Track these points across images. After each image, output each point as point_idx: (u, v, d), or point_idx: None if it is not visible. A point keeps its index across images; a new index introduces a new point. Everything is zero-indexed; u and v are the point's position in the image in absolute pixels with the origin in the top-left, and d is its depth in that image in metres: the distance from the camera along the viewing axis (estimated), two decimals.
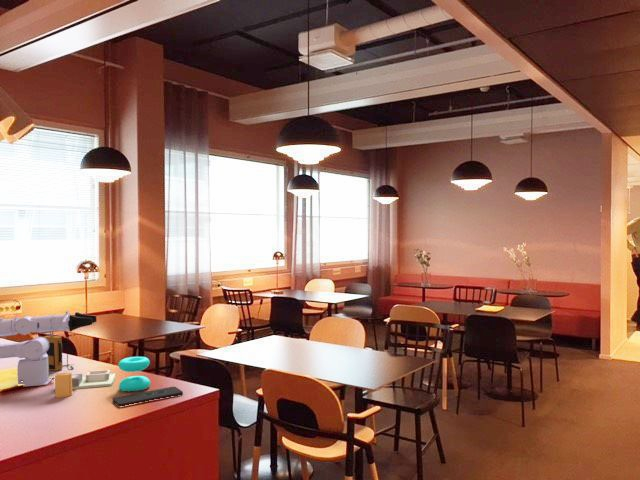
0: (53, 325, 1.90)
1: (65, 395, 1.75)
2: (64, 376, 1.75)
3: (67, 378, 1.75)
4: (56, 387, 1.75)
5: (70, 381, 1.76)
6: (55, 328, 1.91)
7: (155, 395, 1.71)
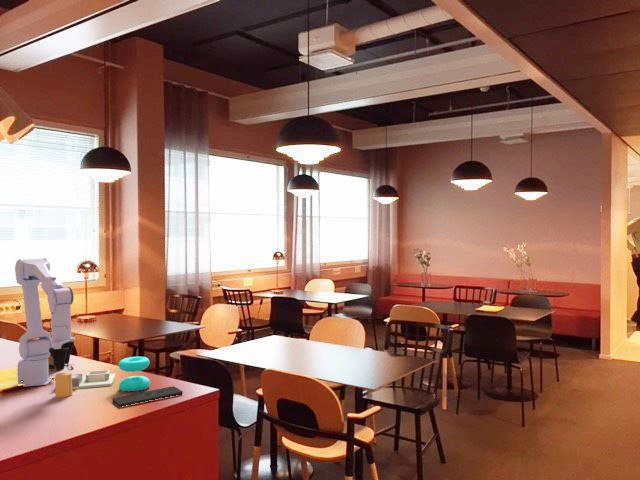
0: (57, 328, 1.73)
1: (65, 395, 1.75)
2: (64, 376, 1.75)
3: (67, 378, 1.75)
4: (56, 387, 1.75)
5: (70, 381, 1.76)
6: (54, 330, 1.74)
7: (155, 395, 1.71)
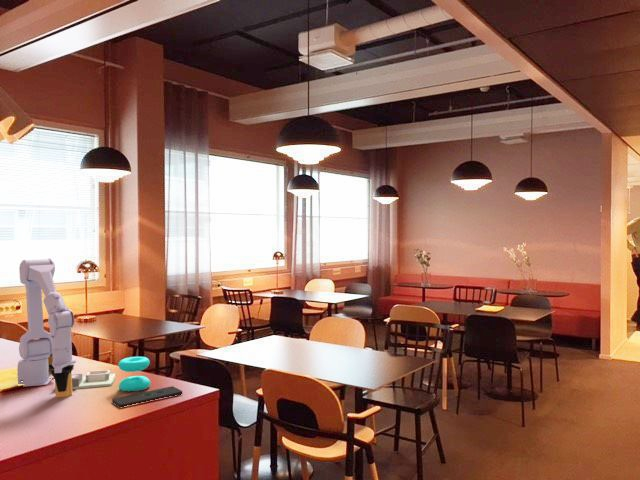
0: (58, 352, 1.73)
1: (65, 395, 1.75)
2: None
3: None
4: (56, 387, 1.75)
5: (70, 381, 1.76)
6: (54, 353, 1.74)
7: (155, 395, 1.71)
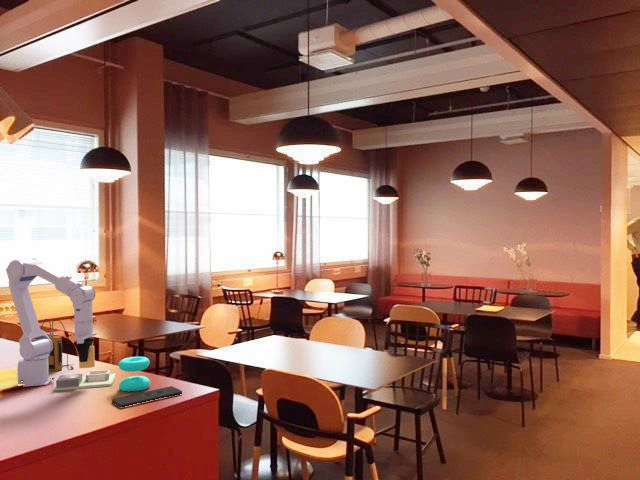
0: (80, 324, 1.84)
1: (88, 366, 1.86)
2: None
3: (90, 350, 1.86)
4: None
5: (93, 353, 1.87)
6: (77, 325, 1.84)
7: (155, 395, 1.71)
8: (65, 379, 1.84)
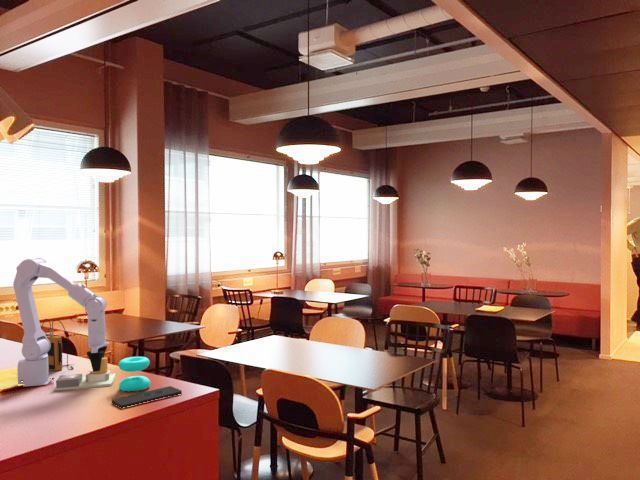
0: (94, 334, 1.90)
1: None
2: (101, 360, 1.92)
3: (103, 362, 1.93)
4: None
5: (106, 365, 1.94)
6: (90, 335, 1.91)
7: (155, 395, 1.71)
8: (65, 379, 1.84)
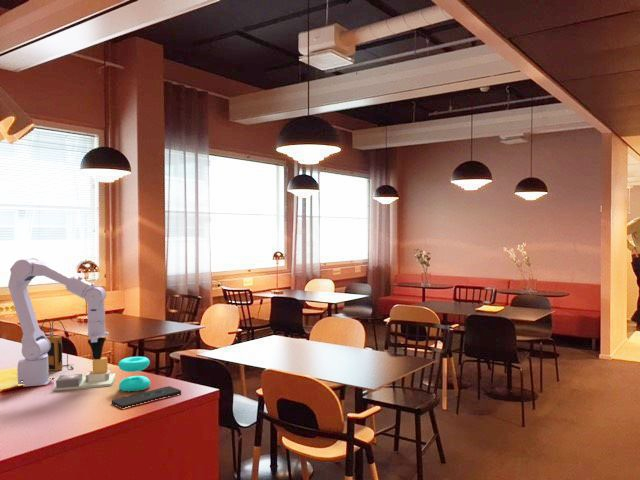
0: (93, 324, 1.90)
1: None
2: (101, 360, 1.92)
3: (103, 362, 1.93)
4: (94, 370, 1.92)
5: (106, 365, 1.94)
6: (90, 325, 1.91)
7: (155, 395, 1.71)
8: (65, 379, 1.84)
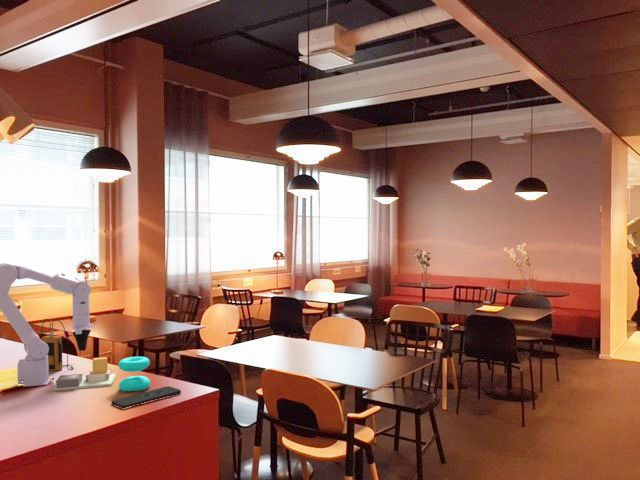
0: (78, 316, 1.98)
1: None
2: (101, 360, 1.92)
3: (103, 362, 1.93)
4: (94, 370, 1.92)
5: (106, 365, 1.94)
6: (75, 317, 1.98)
7: (155, 395, 1.71)
8: (65, 379, 1.84)
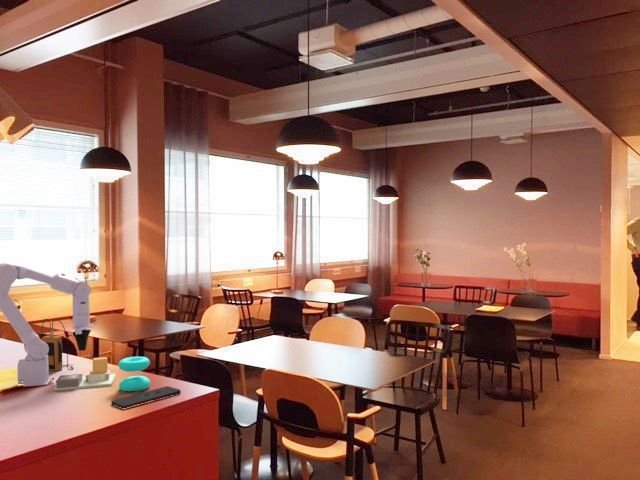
0: (78, 316, 1.98)
1: None
2: (101, 360, 1.92)
3: (103, 362, 1.93)
4: (94, 370, 1.92)
5: (106, 365, 1.94)
6: (75, 317, 1.98)
7: (155, 395, 1.71)
8: (65, 379, 1.84)
